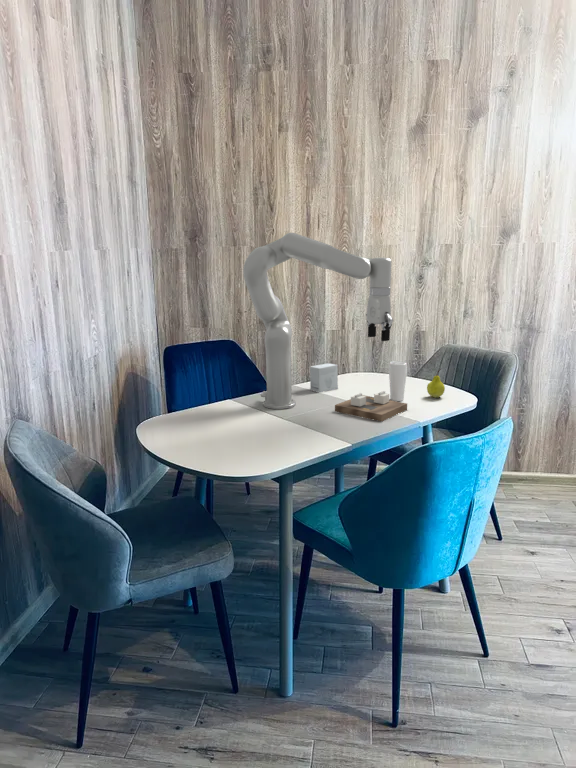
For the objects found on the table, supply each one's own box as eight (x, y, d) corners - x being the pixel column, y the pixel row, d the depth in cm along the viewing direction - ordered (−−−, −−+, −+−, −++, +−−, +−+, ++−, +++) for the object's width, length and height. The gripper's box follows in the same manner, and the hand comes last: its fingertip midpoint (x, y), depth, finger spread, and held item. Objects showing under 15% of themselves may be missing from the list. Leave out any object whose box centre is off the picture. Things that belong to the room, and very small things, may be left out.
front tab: (350, 404, 208) (350, 394, 207) (356, 402, 211) (357, 392, 210) (359, 406, 205) (360, 396, 204) (365, 404, 208) (366, 394, 207)
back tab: (374, 402, 211) (374, 392, 210) (379, 400, 214) (380, 390, 213) (383, 404, 208) (383, 394, 207) (389, 401, 211) (389, 391, 210)
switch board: (334, 411, 209) (334, 404, 209) (361, 401, 223) (361, 394, 222) (381, 421, 197) (381, 414, 196) (407, 410, 210) (407, 403, 210)
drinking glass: (407, 402, 220) (408, 364, 217) (389, 402, 221) (390, 364, 217) (404, 397, 227) (405, 360, 223) (387, 397, 227) (388, 361, 224)
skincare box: (328, 386, 247) (328, 362, 245) (338, 389, 242) (338, 364, 240) (309, 389, 241) (309, 365, 239) (319, 392, 236) (319, 368, 234)
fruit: (423, 397, 227) (424, 368, 224) (432, 394, 232) (434, 365, 229) (437, 400, 222) (439, 370, 219) (447, 397, 227) (449, 368, 224)
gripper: (359, 291, 213) (358, 336, 217) (383, 294, 197) (381, 343, 201) (376, 290, 215) (375, 334, 220) (401, 293, 200) (399, 341, 204)
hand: (378, 338), depth 210 cm, fingers open, 9 cm apart
